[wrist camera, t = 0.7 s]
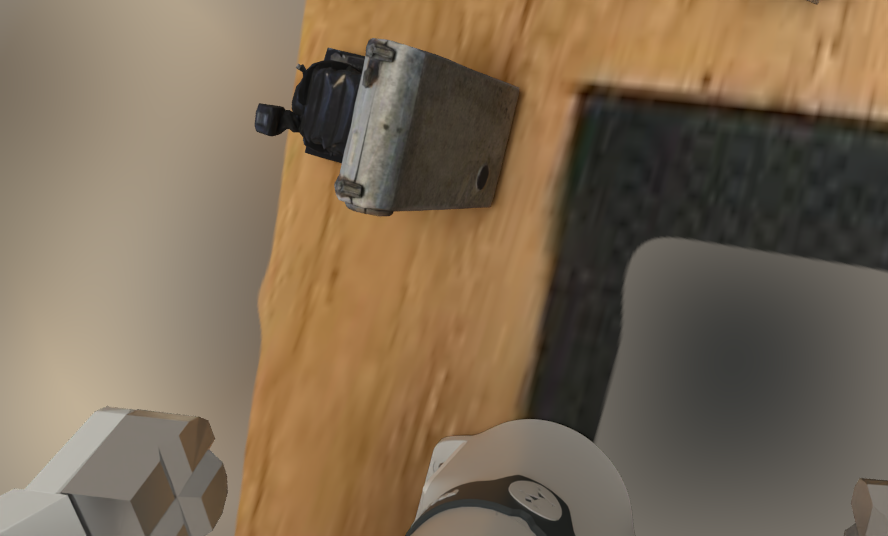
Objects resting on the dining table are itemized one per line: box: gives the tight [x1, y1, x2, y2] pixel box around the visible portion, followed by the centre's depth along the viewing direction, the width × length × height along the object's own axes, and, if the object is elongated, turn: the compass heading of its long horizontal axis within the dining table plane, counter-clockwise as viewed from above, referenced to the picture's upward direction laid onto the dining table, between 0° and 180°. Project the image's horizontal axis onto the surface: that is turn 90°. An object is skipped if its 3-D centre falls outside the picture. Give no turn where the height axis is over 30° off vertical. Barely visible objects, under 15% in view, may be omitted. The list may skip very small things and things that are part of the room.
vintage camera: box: [255, 38, 519, 216], centre depth 54 cm, size 10×16×20 cm, turn 76°
